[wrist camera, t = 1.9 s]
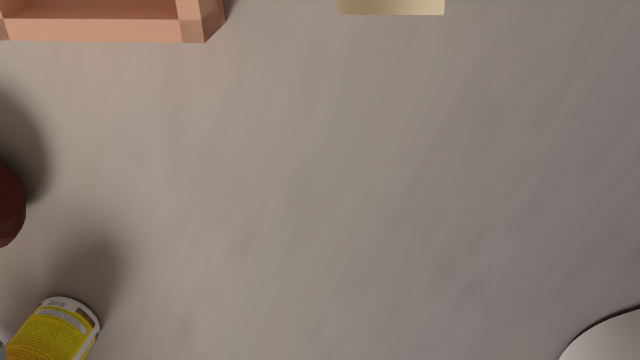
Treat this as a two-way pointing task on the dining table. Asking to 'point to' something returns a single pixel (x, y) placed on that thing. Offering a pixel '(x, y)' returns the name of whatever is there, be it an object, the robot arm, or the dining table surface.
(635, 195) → the dining table surface
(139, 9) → the tray
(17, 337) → the supplement bottle
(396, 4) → the beige tall rectangular block
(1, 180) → the potato
